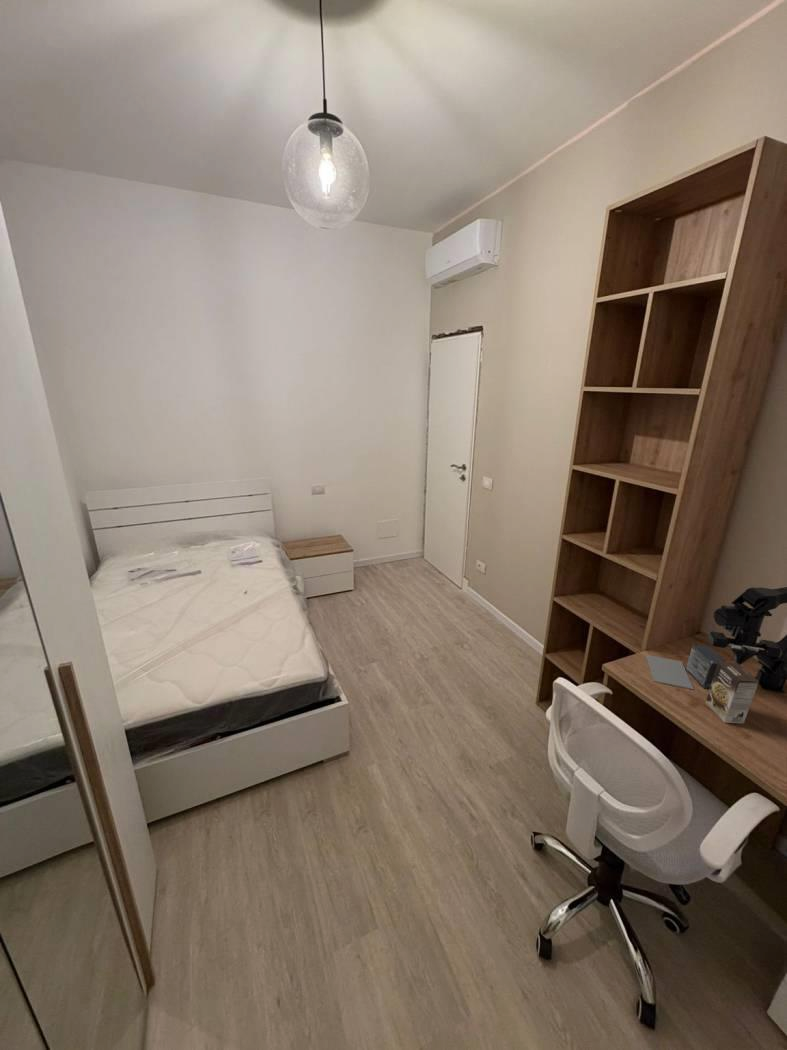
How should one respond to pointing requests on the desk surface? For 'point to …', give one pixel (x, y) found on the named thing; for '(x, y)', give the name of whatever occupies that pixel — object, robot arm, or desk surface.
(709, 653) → the small box
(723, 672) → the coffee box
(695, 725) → the desk surface
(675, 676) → the mat
